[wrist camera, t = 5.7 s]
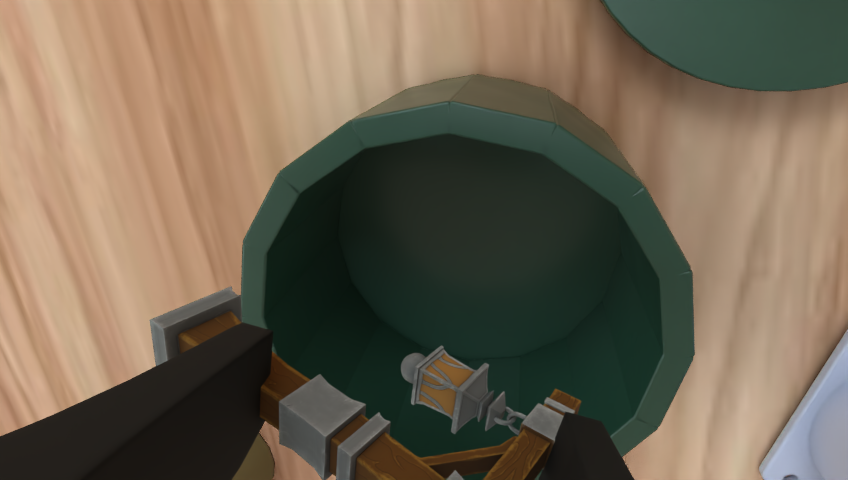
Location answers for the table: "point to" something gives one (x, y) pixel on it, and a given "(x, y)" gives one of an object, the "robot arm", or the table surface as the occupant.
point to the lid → (743, 39)
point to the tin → (474, 263)
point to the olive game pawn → (257, 463)
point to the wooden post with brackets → (369, 439)
